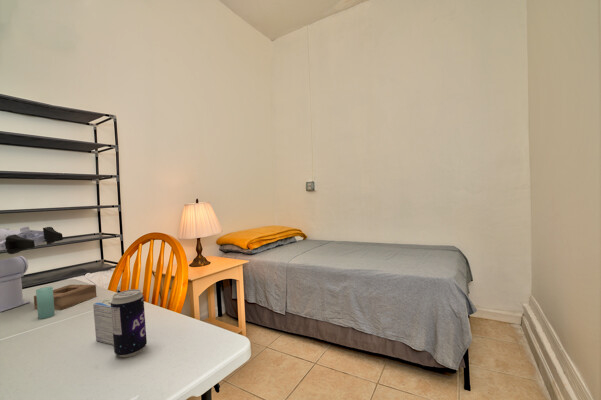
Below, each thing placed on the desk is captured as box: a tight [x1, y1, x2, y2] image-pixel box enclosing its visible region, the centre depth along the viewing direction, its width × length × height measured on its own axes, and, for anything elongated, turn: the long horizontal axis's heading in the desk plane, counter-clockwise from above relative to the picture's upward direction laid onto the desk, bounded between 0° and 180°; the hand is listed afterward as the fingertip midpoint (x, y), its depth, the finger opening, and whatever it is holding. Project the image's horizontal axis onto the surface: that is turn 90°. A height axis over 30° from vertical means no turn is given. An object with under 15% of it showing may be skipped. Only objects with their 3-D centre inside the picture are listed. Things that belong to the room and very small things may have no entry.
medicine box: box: [93, 296, 114, 346], centre depth 63 cm, size 8×4×9 cm, turn 65°
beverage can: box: [111, 288, 148, 358], centre depth 57 cm, size 6×6×12 cm
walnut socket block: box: [33, 284, 97, 311], centre depth 90 cm, size 11×11×4 cm
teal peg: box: [35, 286, 56, 320], centre depth 79 cm, size 4×4×8 cm
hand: (47, 240), depth 84 cm, fingers open, 7 cm apart
